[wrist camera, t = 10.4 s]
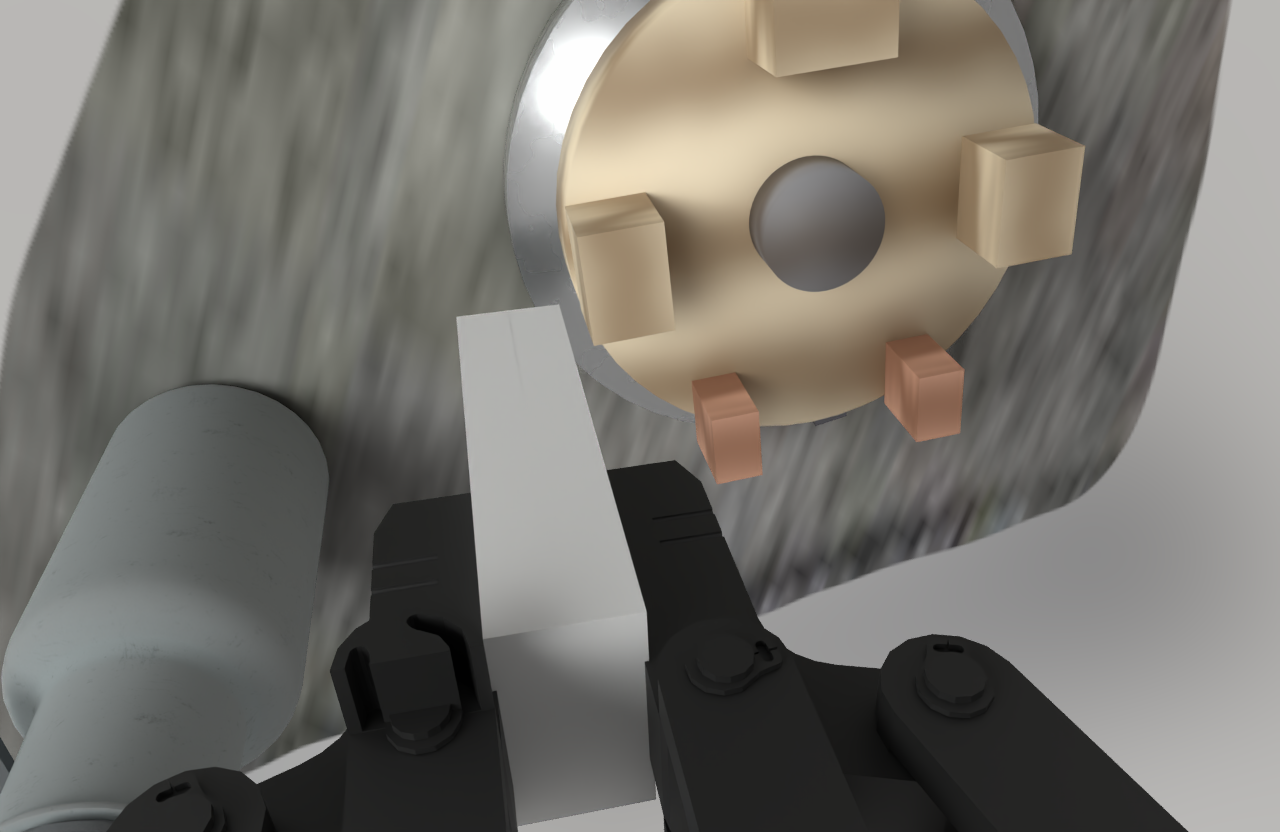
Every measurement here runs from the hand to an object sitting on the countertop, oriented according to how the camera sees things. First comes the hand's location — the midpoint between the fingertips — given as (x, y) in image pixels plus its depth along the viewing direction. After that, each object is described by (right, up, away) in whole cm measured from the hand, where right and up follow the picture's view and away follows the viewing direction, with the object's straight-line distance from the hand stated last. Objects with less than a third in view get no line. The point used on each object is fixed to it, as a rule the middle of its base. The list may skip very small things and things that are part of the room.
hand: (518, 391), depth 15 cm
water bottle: (-18, -3, +32) cm, 37 cm away
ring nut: (+8, +9, +28) cm, 31 cm away
